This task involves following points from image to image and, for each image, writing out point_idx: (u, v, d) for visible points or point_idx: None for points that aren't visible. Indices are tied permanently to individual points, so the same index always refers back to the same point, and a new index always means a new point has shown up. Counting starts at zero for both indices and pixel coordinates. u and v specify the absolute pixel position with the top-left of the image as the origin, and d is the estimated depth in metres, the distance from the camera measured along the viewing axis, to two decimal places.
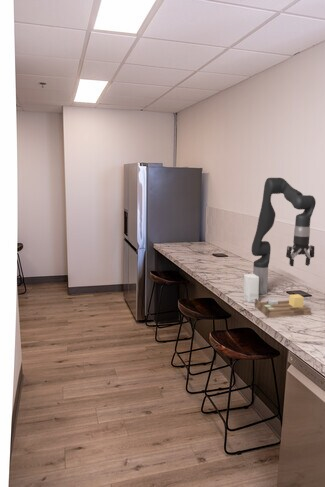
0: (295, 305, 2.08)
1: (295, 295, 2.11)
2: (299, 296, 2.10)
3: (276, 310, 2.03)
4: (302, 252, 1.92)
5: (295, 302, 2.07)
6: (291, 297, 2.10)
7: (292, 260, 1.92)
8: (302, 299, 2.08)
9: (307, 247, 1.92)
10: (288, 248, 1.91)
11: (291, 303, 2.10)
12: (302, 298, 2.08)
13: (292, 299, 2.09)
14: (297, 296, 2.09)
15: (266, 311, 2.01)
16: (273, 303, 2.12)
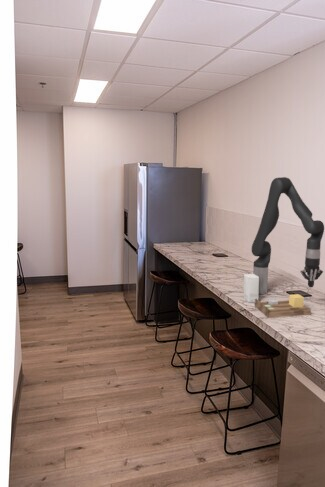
0: (295, 305, 2.08)
1: (295, 295, 2.11)
2: (299, 296, 2.10)
3: (276, 310, 2.03)
4: None
5: (295, 302, 2.07)
6: (291, 297, 2.10)
7: (310, 282, 2.09)
8: (302, 299, 2.08)
9: (318, 268, 2.08)
10: (302, 273, 2.08)
11: (291, 303, 2.10)
12: (302, 298, 2.08)
13: (292, 299, 2.09)
14: (297, 296, 2.09)
15: (266, 311, 2.01)
16: (273, 303, 2.12)
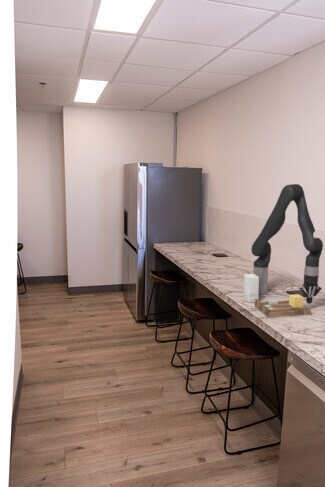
0: (295, 305, 2.08)
1: (295, 295, 2.11)
2: (299, 296, 2.10)
3: (276, 310, 2.03)
4: None
5: (295, 302, 2.07)
6: (291, 297, 2.10)
7: (309, 298, 2.10)
8: (302, 299, 2.08)
9: (316, 285, 2.10)
10: (300, 290, 2.09)
11: (291, 303, 2.10)
12: (302, 298, 2.08)
13: (292, 299, 2.09)
14: (297, 296, 2.09)
15: (266, 311, 2.01)
16: (273, 303, 2.12)
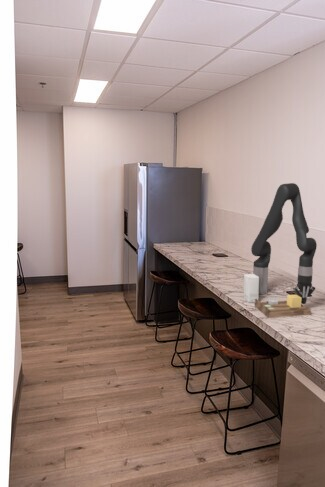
0: (293, 305, 2.07)
1: (293, 295, 2.10)
2: (296, 296, 2.09)
3: (276, 310, 2.03)
4: None
5: (293, 302, 2.07)
6: (289, 297, 2.10)
7: (303, 298, 2.10)
8: (300, 299, 2.07)
9: (310, 285, 2.09)
10: (294, 290, 2.09)
11: (289, 303, 2.10)
12: (300, 298, 2.07)
13: (290, 299, 2.08)
14: (295, 296, 2.09)
15: (266, 311, 2.01)
16: (273, 303, 2.12)
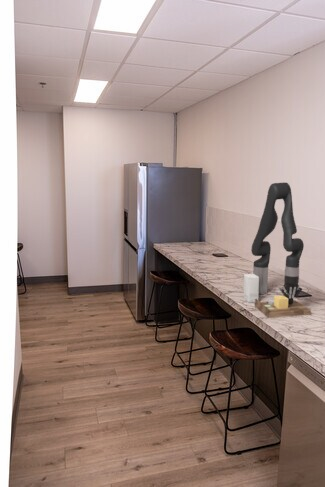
0: (280, 306, 2.06)
1: (280, 296, 2.09)
2: (283, 297, 2.08)
3: (276, 310, 2.03)
4: None
5: (280, 303, 2.05)
6: (276, 298, 2.08)
7: (290, 299, 2.08)
8: (287, 300, 2.06)
9: (297, 285, 2.07)
10: (281, 291, 2.07)
11: (276, 304, 2.08)
12: (287, 299, 2.06)
13: (277, 300, 2.07)
14: (282, 297, 2.07)
15: (266, 311, 2.01)
16: (273, 303, 2.12)
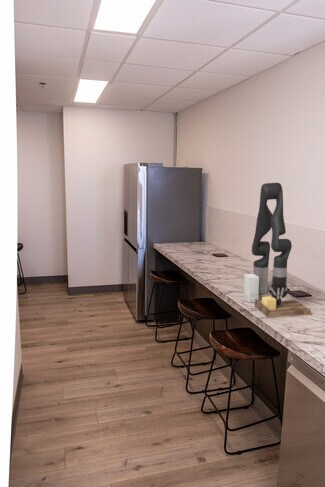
0: (267, 307, 2.04)
1: (268, 297, 2.07)
2: (271, 298, 2.06)
3: (276, 310, 2.03)
4: None
5: (267, 304, 2.04)
6: (264, 299, 2.07)
7: (277, 300, 2.07)
8: (275, 301, 2.04)
9: (285, 286, 2.06)
10: (269, 291, 2.06)
11: None
12: (274, 300, 2.04)
13: (265, 301, 2.05)
14: (270, 298, 2.06)
15: (266, 311, 2.01)
16: None
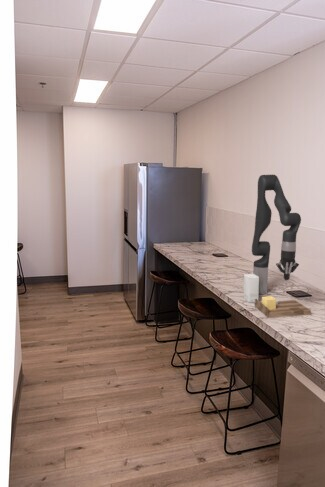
0: (267, 307, 2.04)
1: (268, 297, 2.07)
2: (271, 298, 2.06)
3: (276, 310, 2.03)
4: None
5: (267, 304, 2.04)
6: (263, 299, 2.07)
7: (286, 274, 2.06)
8: (275, 301, 2.04)
9: (293, 261, 2.05)
10: (277, 266, 2.05)
11: None
12: (274, 300, 2.04)
13: (264, 301, 2.05)
14: (269, 298, 2.06)
15: (266, 311, 2.01)
16: None
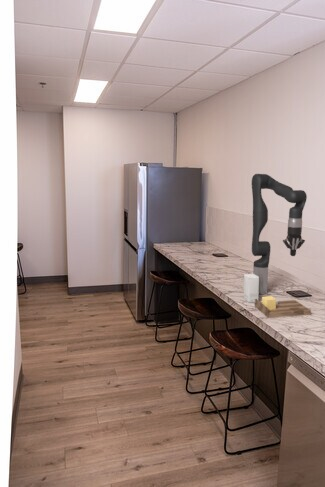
0: (267, 307, 2.04)
1: (268, 297, 2.07)
2: (271, 298, 2.06)
3: (276, 310, 2.03)
4: None
5: (267, 304, 2.04)
6: (263, 299, 2.07)
7: (292, 250, 2.13)
8: (275, 301, 2.04)
9: (300, 237, 2.12)
10: (284, 242, 2.12)
11: None
12: (274, 300, 2.04)
13: (264, 301, 2.05)
14: (269, 298, 2.06)
15: (266, 311, 2.01)
16: None
